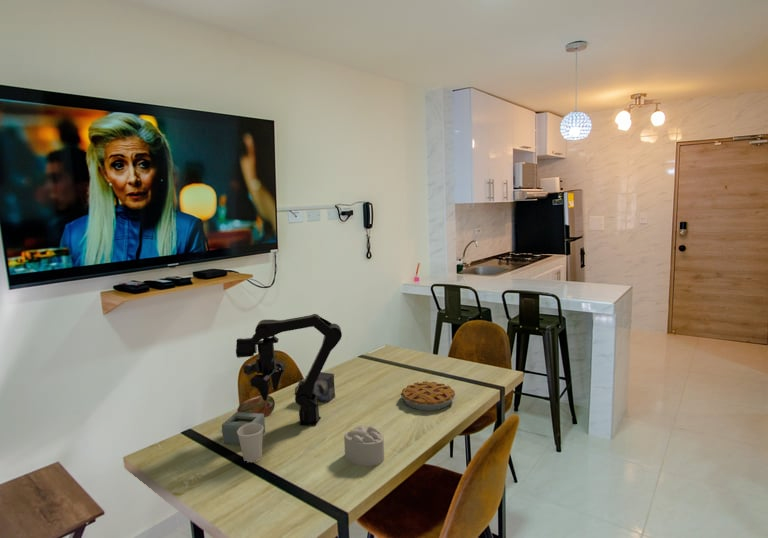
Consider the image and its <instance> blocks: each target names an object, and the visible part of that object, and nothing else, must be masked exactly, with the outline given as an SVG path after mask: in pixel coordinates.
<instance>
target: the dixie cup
mask: <svg viewBox="0 0 768 538" xmlns="http://www.w3.org/2000/svg"><path fill="white" fill-rule="evenodd" d="M263 429H264V427H263V426H262V425H261V424H257V423H252V424H247V425H244V426H242V427H240V428H239V429H238V430H237V434H238V437H239V441H240V445H239V446H240V450H241V453H242V457H243V461H244V462H245V461H247V462H246V463H249V462H250V463H253V462H252V461H256V460H258V459H259V460H260V458H262V457H263V456H262V455H263V454H262V451H263V435H264V434H263ZM261 456H262V457H261ZM259 460H258V461H259ZM256 462H257V461H256Z"/></svg>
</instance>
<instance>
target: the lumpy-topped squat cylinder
mask: <svg viewBox="0 0 768 538" xmlns="http://www.w3.org/2000/svg"><path fill="white" fill-rule="evenodd" d="M343 436H344V437H343V440H344V457H345V459H347V460H348V461H350V462H352V463H353V464H356V465H359V466H365V467H367V466H368V467H370V466H371V467H372V466H373V467H374V466H378V465H380V464H383V462H385V441H384V436H383V434H382V432H381V431H379V430H378V429H377V427H376V426H373V425H371V426H366V425H363V426H362V425H359V426H356V427H355V428H352V430H349V431H347V432H346V433H344V435H343Z"/></svg>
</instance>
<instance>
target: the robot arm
mask: <svg viewBox="0 0 768 538" xmlns="http://www.w3.org/2000/svg"><path fill="white" fill-rule="evenodd" d="M312 327H313V328H315V329H316V330H317V331H318V332H319V333H321V334H322V335H323V338H322V343H321V346H320V348H319V349H318V352H317V354H316V356H315V359H314V360H313V362H312V365H311V366H310V368H309V371H308V373H307V374H306V376H307V377H306V376H305V378H304V379H303V380H302V379H300V378H299V379H298V383H297V386H295V387H294V396H295V397H294V401H295V404H297V405H298V406H300V407H299V410H298V417H299V423H298V425H302V426H316V425H317V424H318V423H319V421H320V420H321V418H322V417H321V416H320V409H319V407H320V405H319V404H318V401H317V396H316V395H315V394H314V393H313V389H314V385H315V382H316V380H317V378H318V376H319V374H320V372H322V370H323V367H325V363H326V362H327V360H328V358H329V356H330V353H331V352H332V350H333V349H335V347H336V346H337V345H338V344H339V342H340V341H341V340H342V335H343V333H342V329H341V326H340V325H339V324H338V323H332V322H330V321H329V320H327V319H325V318H323V317H322V316H320V315H319V314H317V313H313V314H310V315H305V316H299V317H292V318H288V319H287V318H285V319H282V320H281V319H262V320H259V322H258V323H257V325H256V327H255V329H254V334H253V335H252V337H247V338H246V337H245V338H241V337H239V338H236V341H235V342H236V346H235V354H236V355H235V356H236V357H237V359H240V358H241V359H242V358H249V357H250V358H251V357H255V354H258V358H256V360H255V361H253V362H251V363H247V364H245V365H243V371H242V372H243V374H245V375H246V376H250V375H252V374H254V373H256V374H255V375H253V376H252V377H251V378H250V379H249V385H250V387H253V388H256V389H257V390H258V392H259V395H261V396H262V398H263V400H264V401H266V400H267V397H268V395H269V391H270V388H271V385H272V388H273V391H277V390H278V387H279V385H280V382H281V379H282V377H283V374H284V371H285V369H286V363H285V361H283V360H277V358H278V356H277V355H278V354H275V346H274V344H277V343H279V338H278V337H277V336H276V335H278V334H280V333H281V334H282V333H285V332H290V331H296V330H300V329H306V328H307V329H308V328H312ZM257 352H258V353H257ZM271 383H272V384H271Z"/></svg>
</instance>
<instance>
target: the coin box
mask: <svg viewBox="0 0 768 538" xmlns="http://www.w3.org/2000/svg"><path fill="white" fill-rule="evenodd" d="M238 420H239V421H252V422H251V423H245V422H237V421H238ZM265 421H266V420H265V417H264V414H259V413H241V412H237V411H236V412H235V413H234V414H232V415H231V416H229V418H228V419H226V420H225V421H224V422H223V423H222V424H221V431H222V443H223V445H232V444H233V446H240V441H239V437H238V434H237V430H238V429H239V428H240V427H242V426H244V425H247V424H252V423H257V424H261V425H262V426H263V427H264V429H263V435H264V434H265V433H266V424H265Z"/></svg>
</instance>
